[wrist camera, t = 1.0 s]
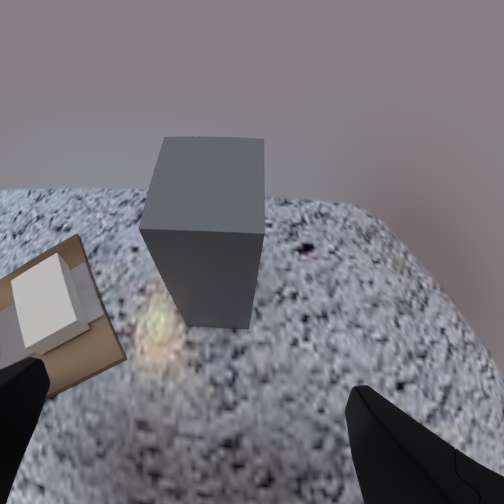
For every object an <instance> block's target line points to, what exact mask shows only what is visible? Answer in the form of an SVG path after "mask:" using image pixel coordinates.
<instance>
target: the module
mask: <svg viewBox="0 0 504 504" xmlns="http://www.w3.org/2000/svg"><path fill="white" fill-rule="evenodd" d="M139 230H140V233H141V235H142V237H143V239H144V241H145V243H146V246H147V248H148V250H149V252H150V254H151V256H152V258H153V260H154V262H155V265H156V267H157V269H158V271H159V273H160V275H161V277H162V279H163V281H164V283H165V285H166V287H167V289H168V291H169V293H170V295H171V296H172V298H173V300H174V302H175V304H176V306H177V308H178V310H179V312H180V314H181V316H182V317H183V319H184V321H185V323H186V325H187V326H197V327H213V328H234V329H249V324H250V318H251V312H252V306H253V300H254V294H255V288H256V282H257V276H258V270H259V264H260V258H261V252H262V246H263V240H264V234H265V212H264V139H255V138H232V137H165V138H164V141H163V144H162V147H161V150H160V153H159V157H158V160H157V163H156V167H155V170H154V174H153V177H152V180H151V184H150V187H149V191H148V195H147V198H146V202H145V206H144V210H143V214H142V218H141V222H140V226H139Z"/></svg>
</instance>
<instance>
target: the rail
mask: <svg viewBox="0 0 504 504" xmlns="http://www.w3.org/2000/svg"><path fill="white" fill-rule="evenodd" d="M70 271H71V275H72V278H73V281H74V285H75V288H76V291H77V294H78V297H79V300H80V303H81V306H82V309H83V311H84V314H85V317H86V320H87V323H88V325H90V324H92V323H94V322H96V321H97V320H99V319H101V318H103V317H105V316H106V315H105V313H104V310H103V308H102V305H101V303H100V300H99V298H98V295H97V292H96V289H95V287H94V284H93V281H92V278H91V275H90V273H89V270H88V267H87V264H86V263H85V262H84V263H82V264H80V265H79V266H77V267H75V268H73V269H71V270H70ZM34 354H36V353H35V352H33V351H31V350H28V349H26V348H25V344H24V340H23V337H22V333H21V329H20V324H19V320H18V315H17V311H16V306H15V303H14V304H12V305H10V306H9V307H7V308H6V309H4V310H2V311H1V312H0V369H2V368H5V367H7V366H9V365H12V364H14V363H16V362H19V361H21V360H23V359H26V358H28V357H31V356H32V355H34Z"/></svg>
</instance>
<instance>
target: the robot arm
mask: <svg viewBox="0 0 504 504" xmlns="http://www.w3.org/2000/svg"><path fill="white" fill-rule="evenodd" d="M49 388H50V379H49V376H48V373H47V370H46V367H45V364H44V362H43V361H42V359H40V358H36V357H32V356H31V357H28V358H26V359H23V360H21V361H19V362H16V363H14V364H12V365H9V366H7V367H5V368H2V369H0V504H6V502H7V499H8V496H9V493H10V490H11V487H12V485H13V482H14V479H15V476H16V474H17V471H18V468H19V466H20V463H21V461H22V458H23V456H24V453H25V451H26V448H27V446H28V444H29V441H30V439H31V437H32V434H33V432H34V430H35V427H36V425H37V422H38V419H39V416H40V413H41V410H42V407H43V404H44V402H45V399H46V396H47V393H48V390H49ZM345 415H346V421H347V428H348V434H349V441H350V447H351V454H352V459H353V463H354V467H355V470H356V474H357V478H358V481H359V485H360V489H361V492H362V496H363V500H364V503H365V504H504V476H502V475H500V474H498V473H496V472H494V471H492V470H490V469H488V468H486V467H484V466H483V465H481V464H479V463H477V462H476V461H474V460H473V459H471V458H470V457H468V456H466V455H465V454H463V453H462V452H460V451H459V450H457V449H455V448H454V447H453V446H451V445H450V444H449V443H447V442H446V441H444V440H443V439H441V438H440V437H438V436H437V435H436V434H434V433H433V432H431V431H430V430H429V429H427V428H426V427H424V426H423V425H421V424H420V423H419V422H417V421H416V420H414V419H413V418H412V417H410V416H409V415H407V414H406V413H405V412H403V411H402V410H401V409H399V408H398V407H396V406H395V405H394V404H392V403H391V402H390V401H388V400H387V399H385V398H384V397H383V396H381V395H380V394H379V393H377V392H376V391H375V390H373V389H372V388H371V387H369V386H367V385H362V386H354V387H353V388H352V390H351V393H350V396H349V399H348V402H347V405H346V409H345Z"/></svg>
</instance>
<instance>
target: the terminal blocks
mask: <svg viewBox="0 0 504 504" xmlns="http://www.w3.org/2000/svg"><path fill="white" fill-rule="evenodd" d="M11 284H12V290H13V296H14V301H15V306H16V311H17V315H18V320H19V324H20V329H21V333H22V337H23V340H24V344H25V348H26V349H28V350H31V351H33V352H35V353H38V354H40V355H42V354H44V353H46V352H47V351H49V350H51V349H53V348H55V347H57V346H59V345H61V344H62V343H64V342H66V341H68V340H70V339H72V338H74V337H75V336H77V335H79V334H81V333H83V332H85V331H87V330H89V329H90V328H89V325H88V323H87V320H86V317H85V314H84V311H83V309H82V306H81V303H80V300H79V297H78V294H77V291H76V288H75V285H74V281H73V278H72V275H71V271H70V268H69V265H68V264H67V263H66V262H65V261H64V260H63V259H62V258H61V256H60V255H59V254H58V253H56V254H54V255H52V256H50V257H49V258H47V259H45V260H44V261H42V262H40V263H39V264H37V265H35V266H34V267H32V268H30V269H29V270H27V271H26V272H24V273H22V274H21V275H19V276H17V277H16V278H14V279H13V280H11Z"/></svg>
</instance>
